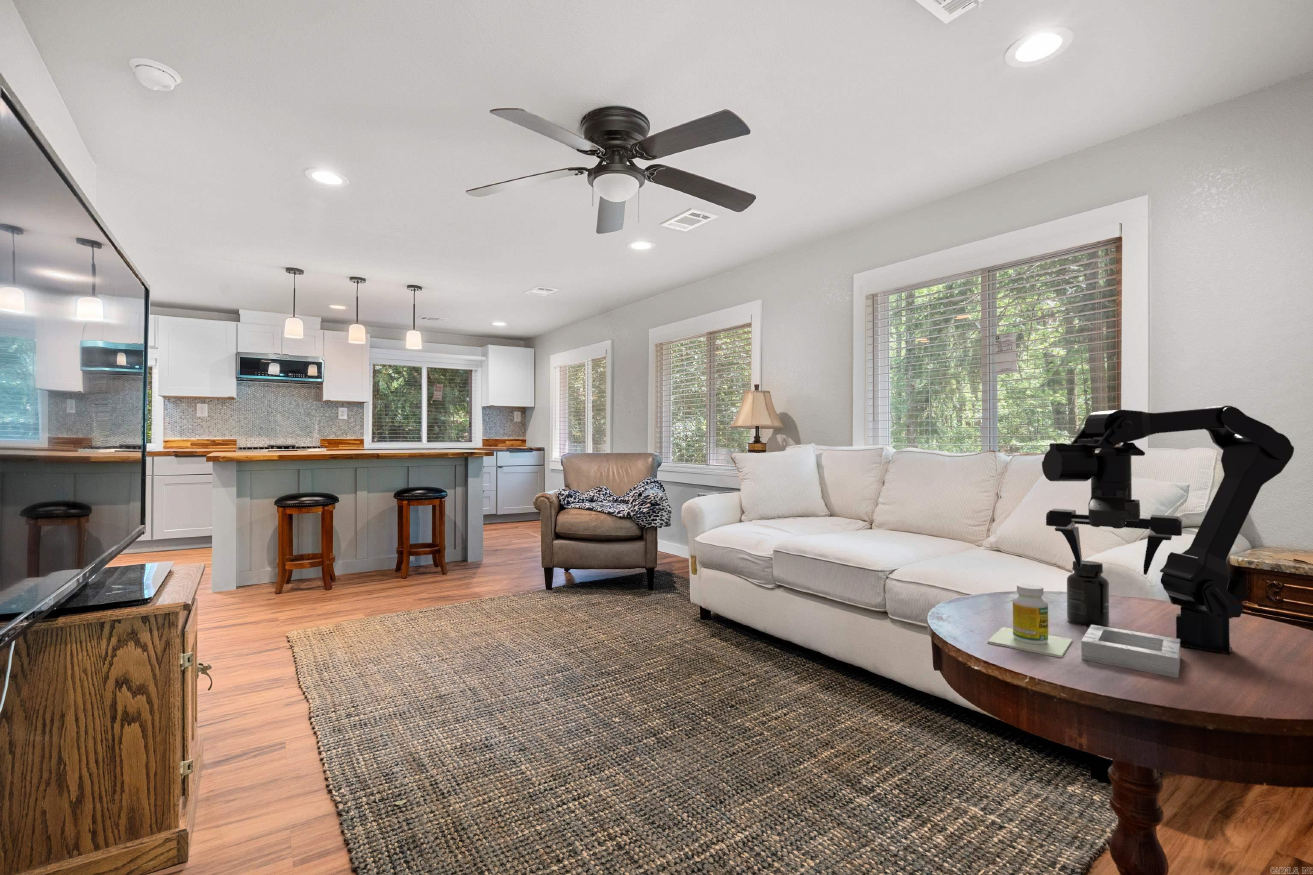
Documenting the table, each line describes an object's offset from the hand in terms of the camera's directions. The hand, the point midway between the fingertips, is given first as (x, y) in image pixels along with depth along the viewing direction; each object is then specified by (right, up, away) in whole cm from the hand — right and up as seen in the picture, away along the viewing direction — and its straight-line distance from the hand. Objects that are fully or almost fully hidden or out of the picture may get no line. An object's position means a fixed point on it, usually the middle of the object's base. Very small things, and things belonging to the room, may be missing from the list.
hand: (1111, 570), depth 106 cm
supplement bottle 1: (-13, -13, +1) cm, 19 cm away
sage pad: (-13, -13, +1) cm, 19 cm away
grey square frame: (-2, -13, -7) cm, 15 cm away
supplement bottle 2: (+5, -13, +13) cm, 19 cm away
